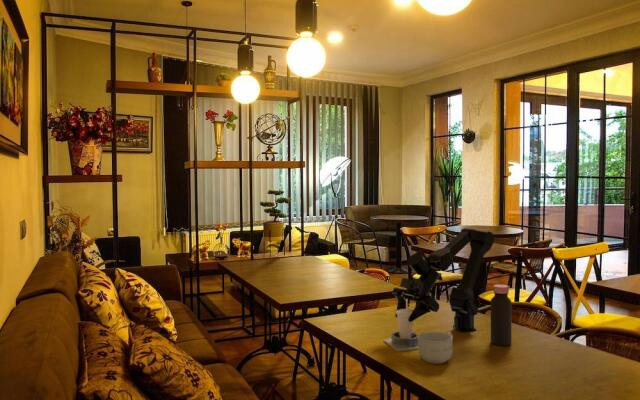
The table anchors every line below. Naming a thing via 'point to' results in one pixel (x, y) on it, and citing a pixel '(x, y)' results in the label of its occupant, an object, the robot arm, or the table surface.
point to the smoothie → (404, 322)
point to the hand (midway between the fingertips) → (402, 319)
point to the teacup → (435, 346)
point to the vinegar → (501, 316)
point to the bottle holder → (402, 342)
